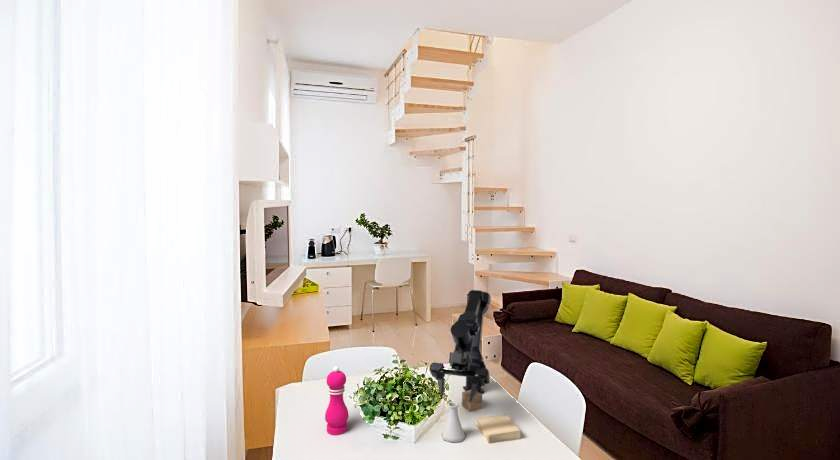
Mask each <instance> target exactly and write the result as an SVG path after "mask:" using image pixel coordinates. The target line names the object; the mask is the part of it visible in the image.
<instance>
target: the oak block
mask: <svg viewBox="0 0 840 460" xmlns="http://www.w3.org/2000/svg"><path fill="white" fill-rule="evenodd" d="M475 423H476V428H477V429H478V431H480V433H481V434H482V436H483V437H484V439H485V440H486V442H487V443H488V444H494V443H495V444H496V443H503V442H508V441H516V440H520V439H521V430H520V428H519V427H518V426H517V425H516V424H515V423H514V422H513V420H511V418H510V417H509V416H508V414H496V415H490V416H483V417H476V422H475Z"/></svg>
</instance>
